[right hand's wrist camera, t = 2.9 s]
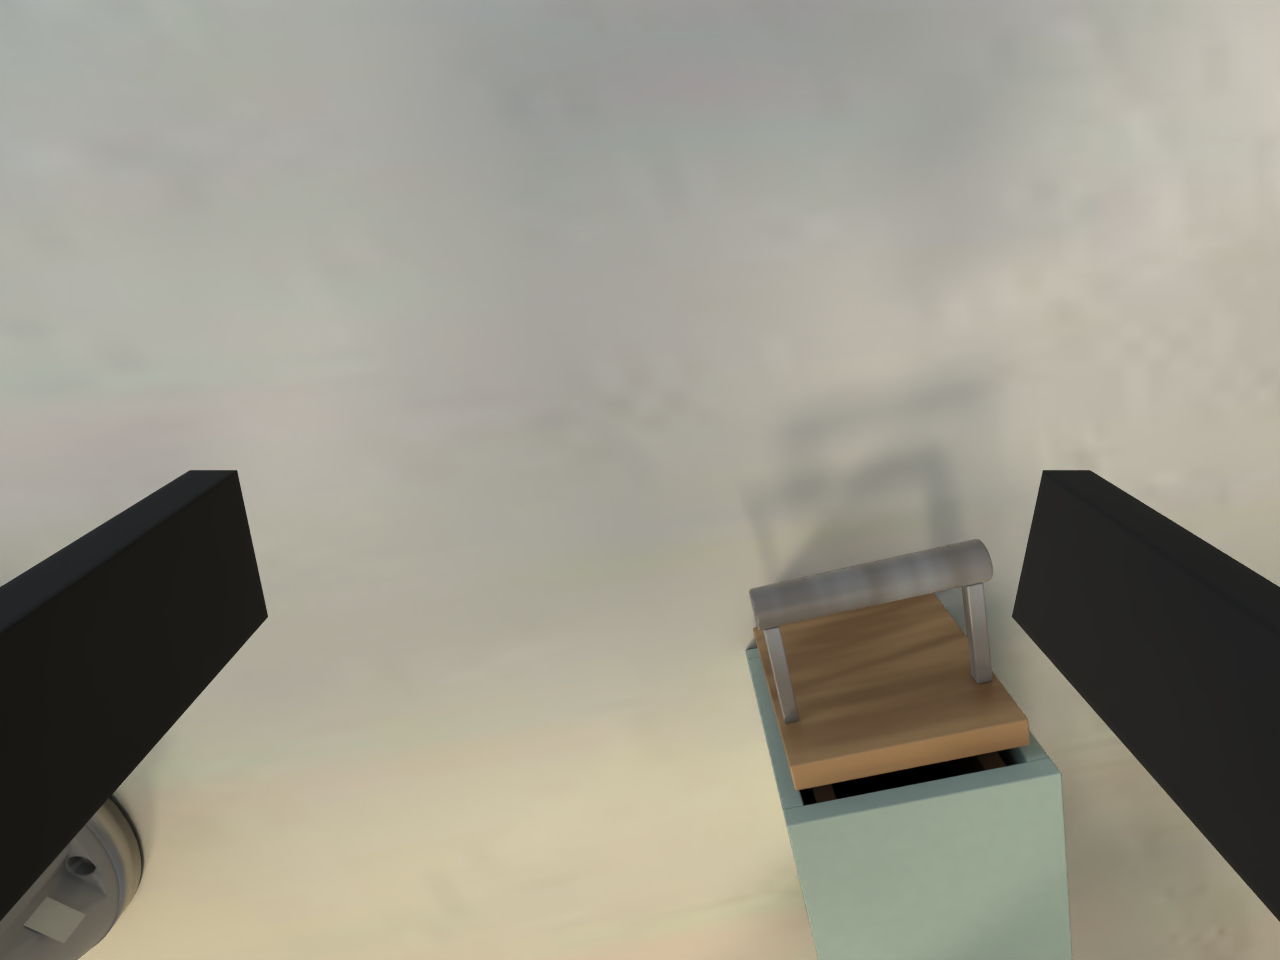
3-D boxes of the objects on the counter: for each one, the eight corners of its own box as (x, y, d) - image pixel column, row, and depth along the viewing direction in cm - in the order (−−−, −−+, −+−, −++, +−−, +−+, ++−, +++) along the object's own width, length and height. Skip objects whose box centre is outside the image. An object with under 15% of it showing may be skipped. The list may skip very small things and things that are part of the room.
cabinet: (744, 649, 37) (786, 826, 27) (940, 607, 36) (1062, 773, 26) (809, 918, 44) (861, 1141, 34) (974, 888, 43) (1081, 1107, 33)
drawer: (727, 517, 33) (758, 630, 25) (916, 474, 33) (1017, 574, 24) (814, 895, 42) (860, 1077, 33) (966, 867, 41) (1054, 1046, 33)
